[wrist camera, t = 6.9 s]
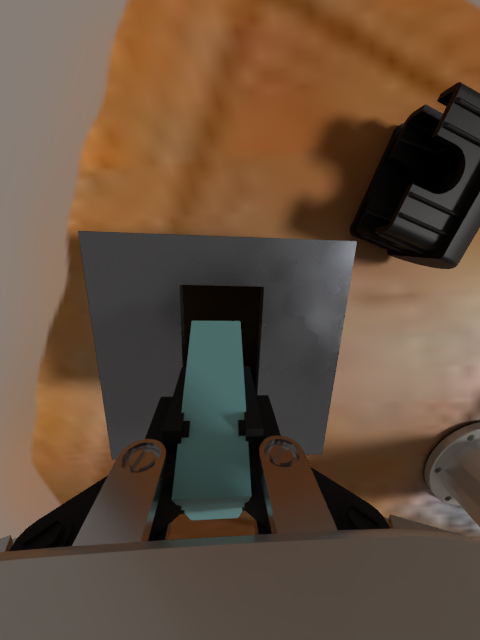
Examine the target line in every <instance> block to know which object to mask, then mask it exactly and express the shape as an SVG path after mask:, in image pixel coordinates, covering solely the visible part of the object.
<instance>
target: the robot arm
mask: <svg viewBox="0 0 480 640" xmlns="http://www.w3.org/2000/svg"><path fill="white" fill-rule="evenodd" d="M243 368H244V384H245V400H246V412H244V419H245V420H238V433H239V436H246V441H248V447H249V463H250V479H251V495H252V496H251V498H250V500H249V501H248V502H246V503H245V504H244V507H242V511H244V510H245V511H246V512H248V513H249V514H250V515H251V516H252V517H253V518H254V527H255V533H256V535H245V536H227V537H210V538H194V539H177V540H169V536H170V531H171V522H172V521H173V520H174V519H175V518H176V517H177V516H178V515H179V514H184V513H185V510H181V509H182V507H181V506H180V505H176V504H175V503H174V502H173V501H172V492H173V483H174V474H175V473H176V472H175V465H176V456H177V447H178V444H181V441H182V438H189V430H190V421H183V420H184V413H181V412H182V403H183V394H184V385H185V376H186V367H182V368H181V371H180V374H179V378H178V381H177V384H176V387H175V391H174V394H173V396H171V397H161V398H160V400H159V403H158V405H157V408H156V411H155V413H154V416H153V419H152V421H151V424H150V426H149V429H148V432H147V434H146V437H145V439H144V440H139V441H136V442H134V443H132V444H130V445H128V446H127V447H126V448H125V449H123V450H122V451H121V453H120V454H119V456H118V457H117V459H116V461H115V463H114V465H113V467H112V469H111V471H110V473H109V475H108V476H107V477H105V478H103V479H102V480H100V481H99V482H97V483H96V484H94V485H92V486H91V487H89V488H88V489H86V490H85V491H83V492H81V493H80V494H78V495H77V496H75V497H73V498H72V499H70V500H69V501H67V502H66V503H64V504H62V505H61V506H59V507H58V508H56V509H55V510H53V511H52V512H50V513H48V514H47V515H45V516H44V517H42V518H41V519H39V520H37V521H36V522H35V523H33V524H32V525H31V526H29V527H28V528H27V529H26V530H25V531H24V532H23V533H22V534H21V535H20V536H19V537H18V538H16V539H13V540H12V538H11V536H7V537H4V538H1V539H0V640H480V541H479V540H476V539H473V538H470V537H467V536H464V535H461V534H457V533H454V532H450V531H447V530H443V529H440V528H436V527H432V526H429V525H425V524H422V523H418V522H415V521H411V520H408V519H404V518H401V517H397V516H394V515H390V516H389V519H388V518H385V517H383V516H382V515H381V514H380V512H379V511H378V510H377V509H375V508H374V507H373V506H372V505H370V504H369V503H367V502H366V501H364V500H362V499H361V498H359V497H358V496H356V495H354V494H353V493H351V492H350V491H348V490H346V489H345V488H343V487H342V486H340V485H338V484H337V483H335V482H334V481H332V480H330V479H329V478H327V477H326V476H324V475H322V474H321V473H319V472H318V471H316V470H315V469H313V468H311V467H310V465H309V463H308V460H307V458H306V456H305V453H304V451H303V449H302V448H301V446H300V445H299V444H298V443H297V442H296V441H294V440H292V439H291V438H288V437H285V436H281V434H280V431H279V428H278V425H277V421H276V418H275V415H274V412H273V408H272V405H271V402H270V399H269V396H268V395H256V392H255V388H254V384H253V379H252V375H251V371H250V367H243ZM424 475H425V481H426V484H427V486H428V487H429V489H430V490H431V491H432V493H433V494H434V495H435V496H436V497H437V498H438V499H439V500H441V501H443V502H445V503H448V504H451V505H458V506H461V507H462V508H463V509H464V510H465V511H466V512H467V513H468V514H469V515H470V517H471V518H472V519H473V520H474V521H475V522H476V523H477V524H478V525H479V527H480V422H479V423H474V424H471V425H468V426H465V427H463V428H460V429H458V430H456V431H455V432H453V433H451V434H450V435H448V436H447V437H446V438H445V439H443V440H442V441H441V442H440V443H439V444H438V445H437V446H436V448H435V449H434V450H433V451H432V453H431V455H430V456H429V458H428V460H427V463H426V466H425V472H424Z"/></svg>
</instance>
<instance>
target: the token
mask: <svg viewBox="0 0 480 640" xmlns="http://www.w3.org/2000/svg"><path fill="white" fill-rule="evenodd" d="M244 412H246V400H245V384H244V368H243V353H242V337H241V321H192V322H191V331H190V340H189V349H188V358H187V367H186V376H185V385H184V394H183V403H182V412H181V413H184V420H183V421H190V430H189V438H182V441H181V444H178V447H177V456H176V465H175V472H176V473H175V474H174V483H173V492H172V501H173V502H174V503H175V504H176V505H180V506H181V507H182V509H181V510H185V514H186V516H187V517H188V518H189V519H190V520H209V519H228V518H238V517H239V516H240V514H241V513H242V507H244V504H245V503H246V502H248V501H249V500H250V498H251V496H252V495H251V479H250V463H249V447H248V441H246V436H239V433H238V420H245V419H244Z"/></svg>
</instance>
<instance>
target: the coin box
mask: <svg viewBox="0 0 480 640" xmlns="http://www.w3.org/2000/svg"><path fill="white" fill-rule="evenodd" d="M78 235H79V242H80V248H81V255H82V262H83V269H84V275H85V282H86V289H87V296H88V302H89V309H90V316H91V322H92V329H93V336H94V343H95V349H96V356H97V363H98V370H99V376H100V383H101V390H102V396H103V403H104V410H105V417H106V423H107V430H108V437H109V444H110V450H111V457H112V460H114V459H117V457H118V456H119V454H120V453H121V451H122V450H123V449H125V448H126V447H127V446H128V445H130V444H132V443H134V442H136V441H139V440H144V439H145V437H146V434H147V432H148V429H149V426H150V424H151V421H152V419H153V416H154V413H155V411H156V408H157V405H158V403H159V400H160V398H161V397H171V396H173V394H174V391H175V387H176V384H177V381H178V378H179V374H180V371H181V368H182V367H185V343H184V313H183V285H212V286H256V287H261V300H260V317H259V333H258V350H257V367H256V370H250V371H251V375H252V379H253V384H254V388H255V392H256V395H268V396H269V399H270V402H271V405H272V408H273V412H274V415H275V418H276V421H277V425H278V428H279V431H280V434H281V436H285V437H288V438H291V439H292V440H294V441H296V442H297V443H298V444H299V445H300V446H301V448H302V449H303V451H304V453H305V455H307V454H322V451H323V445H324V439H325V433H326V427H327V421H328V415H329V409H330V403H331V396H332V390H333V384H334V378H335V372H336V366H337V360H338V354H339V348H340V342H341V336H342V330H343V324H344V317H345V311H346V305H347V299H348V293H349V287H350V281H351V275H352V269H353V263H354V257H355V251H356V244H357V241H335V240H308V239H281V238H254V237H227V236H200V235H173V234H146V233H119V232H92V231H78Z"/></svg>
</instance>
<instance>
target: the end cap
mask: <svg viewBox="0 0 480 640" xmlns="http://www.w3.org/2000/svg"><path fill="white" fill-rule="evenodd" d="M438 102H440V103H442V104H443V105H445V106H447V107H446V109H445V111H444V113H443V114H442V113H441V112H439V111H437V110H435V109H433V108H431V107H429V106H428V105H426V104H425V105H424V106H422V107H421V108H419V109H418V110H416V111H415V112H413V113H412V114H411V115H410V116H409V117H408V119H407V120H406V122H405V123H403V124H401V125H399V126H398V127H397V128H396V129H395V130H394V132H393V134H392V137H391V139H390V141H389V143H388V145H387V148H386V150H385V152H384V154H383V157H382V159H381V161H380V163H379V165H378V168H377V170H376V172H375V174H374V176H373V179H372V181H371V183H370V185H369V188H368V190H367V192H366V194H365V196H364V199H363V201H362V203H361V205H360V207H359V210H358V212H357V214H356V216H355V219H354V221H353V223H352V225H351V227H350V233H351V235H353V236H354V237H357V238H359V239H362V240H364V241H367V242H369V243H371V244H374V245H376V246H379V247H381V248H383V249H386V250H388V252H387V254H388V255H390V256H393V257H396V258H399V259H402V260H405V261H408V262H412V263H415V264H419V265H423V266H428V267H433V268H440V269H451V268H454V267H456V266H457V265H458V263H459V262H460V260H461V258H462V257H463V255H464V253H465V252H466V250H467V248H468V246H469V245H470V243H471V241H472V240H473V238H474V236H475V234H476V233H477V231H478V229H479V228H480V93H478V92H476V91H475V90H473V89H471V88H469V87H468V86H466V85H464V84H462V83H461V82H458V83H456V84H455V85H453V86H452V87H450V88H449V89H447V90H446V91H444V92H443V93H441V94H440V96H439V98H438Z"/></svg>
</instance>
